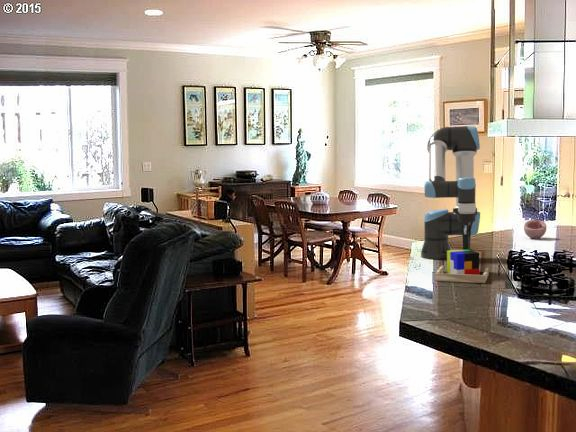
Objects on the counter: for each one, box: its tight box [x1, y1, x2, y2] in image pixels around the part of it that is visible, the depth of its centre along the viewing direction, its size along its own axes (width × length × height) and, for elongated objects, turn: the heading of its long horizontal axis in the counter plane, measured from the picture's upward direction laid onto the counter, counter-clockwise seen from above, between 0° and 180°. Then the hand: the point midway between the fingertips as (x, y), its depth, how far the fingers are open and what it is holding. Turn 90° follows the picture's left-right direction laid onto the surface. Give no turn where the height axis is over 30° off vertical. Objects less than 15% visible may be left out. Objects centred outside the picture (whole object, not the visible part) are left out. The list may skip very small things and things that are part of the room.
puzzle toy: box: [446, 249, 480, 275], centre depth 282 cm, size 10×10×10 cm
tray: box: [434, 265, 490, 284], centre depth 277 cm, size 18×20×3 cm
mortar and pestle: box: [523, 218, 547, 240], centre depth 375 cm, size 12×12×11 cm
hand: (466, 265), depth 292 cm, fingers closed
